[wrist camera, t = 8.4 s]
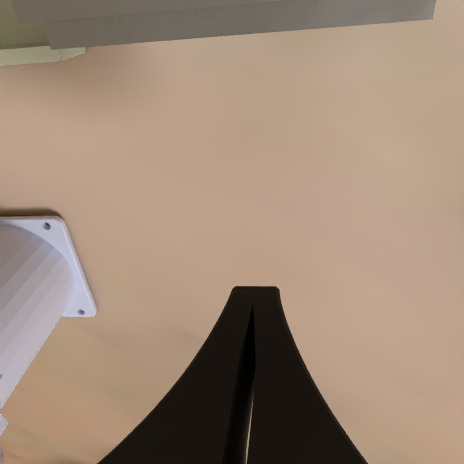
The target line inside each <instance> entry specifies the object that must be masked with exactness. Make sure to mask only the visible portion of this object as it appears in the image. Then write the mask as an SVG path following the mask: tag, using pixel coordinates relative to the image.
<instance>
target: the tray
mask: <svg viewBox="0 0 464 464" xmlns="http://www.w3.org/2000/svg"><path fill="white" fill-rule="evenodd" d="M86 52H87V51H86V47H80V48H67V49H55V50H51V48H50V45H49V41H48V38H47V35H46V32H45V28H44V25H43V22H38V23H27V24H19V21H18V18H17V15H16V12H15V9H14V6H13V3H12V0H0V66H8V65H21V64H34V63H47V62H61V61H64V60H67V59H69V58H72V57H75V56H78V55H80V54H83V53H86Z"/></svg>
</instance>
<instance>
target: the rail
mask: <svg viewBox="0 0 464 464" xmlns="http://www.w3.org/2000/svg"><path fill="white" fill-rule="evenodd" d="M435 2H436V0H12V3H13V6H14V9H15V12H16V15H17V18H18V21H19V24H27V23H38V22H43V25H44V28H45V32H46V35H47V38H48V41H49V45H50V48H51V50H55V49H67V48H80V47H92V46H104V45H117V44H129V43H142V42H154V41H167V40H179V39H192V38H204V37H217V36H229V35H242V34H254V33H267V32H279V31H292V30H304V29H317V28H329V27H342V26H354V25H367V24H379V23H391V22H404V21H416V20H429V19H433V14H434V8H435Z"/></svg>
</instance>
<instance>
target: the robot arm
mask: <svg viewBox="0 0 464 464" xmlns="http://www.w3.org/2000/svg"><path fill="white" fill-rule="evenodd" d="M45 222H46V223H48V224H49V225H50V226H48V225H47V224H46V223H45ZM96 312H97V308H96V305H95V303H94V300H93V297H92V295H91V292H90V289H89V286H88V284H87V281H86V278H85V276H84V273H83V270H82V268H81V265H80V262H79V259H78V257H77V254H76V251H75V249H74V246H73V243H72V241H71V238H70V235H69V233H68V230H67V227H66V224H65V222H64V220H63V219H62V218H60V217H58V216H14V217H0V410H1V408H2V407H3V405H4V404H5V402H6V401H7V399H8V398H9V396H10V394H11V393H12V391H13V390H14V388H15V387H16V385H17V384H18V382H19V381H20V379H21V378H22V376H23V374H24V373H25V371H26V370H27V368H28V367H29V365H30V364H31V362H32V361H33V359H34V358H35V356H36V354H37V353H38V351H39V350H40V348H41V347H42V345H43V344H44V342H45V341H46V339H47V337H48V336H49V334H50V333H51V331H52V330H53V328H54V327H55V325H56V324H57V322H58V321H59V319H60V317H93V316H94V315H95V314H96ZM253 394H254V396H253ZM252 402H253V407H252ZM251 409H252V417H251V428H250V438H249V447H248V457H247V464H368V463H367V462H366V460H365V459H364V458H363V456H362V455H361V454H360V452H359V451H358V450H357V448H356V447H355V445H354V444H353V443H352V441H351V440H350V438H349V437H348V435H347V434H346V432H345V431H344V429H343V428H342V427H341V425H340V424H339V422H338V421H337V419H336V418H335V416H334V415H333V413H332V412H331V410H330V408H329V407H328V405H327V403H326V402H325V400H324V398H323V397H322V395H321V393H320V392H319V390H318V388H317V386H316V385H315V383H314V381H313V379H312V377H311V375H310V373H309V371H308V370H307V368H306V366H305V363H304V361H303V359H302V357H301V355H300V353H299V351H298V349H297V346H296V344H295V342H294V339H293V337H292V334H291V332H290V329H289V327H288V324H287V321H286V318H285V315H284V311H283V308H282V304H281V299H280V291H279V289H278V288H277V287H276V286H235V287H234V288H233V289H232V291H231V294H230V296H229V299H228V301H227V303H226V305H225V307H224V309H223V311H222V313H221V315H220V317H219V319H218V321H217V322H216V324H215V326H214V328H213V329H212V331H211V333H210V334H209V336H208V338H207V339H206V341H205V343H204V344H203V346H202V347H201V349H200V350H199V352H198V353H197V355H196V356H195V358H194V359H193V361H192V362H191V363H190V365H189V366H188V368H187V369H186V370H185V372H184V373H183V374H182V376H181V377H180V378H179V379H178V381H177V382H176V383H175V385H174V386H173V387H172V388H171V389H170V391H169V392H168V393H167V394H166V395H165V396H164V398H163V399H162V400H161V401H160V402H159V403H158V405H157V406H156V407H155V408H154V409H153V410H152V411H151V412H150V413H149V415H148V416H147V417H146V418H145V419H144V420H143V421H142V422H141V423H140V424H139V425H138V426H137V427H136V428H135V429H134V430H133V431H132V432H131V433H130V434H129V435H128V436H127V437H126V438H125V439H124V440H123V441H122V442H121V443H120V444H119V445H118V446H117V447H115V448H114V449H113V450H112V451H111V452H110V453H109V454H108V455H107V456H105V457H104V458H103V459H102V460H101V461H100V462H99V463H97V464H246V449H247V439H248V431H249V423H250V416H251ZM7 424H8V421H7V420H6V419H5V418H4V417H3V416H2V415H1V413H0V436H1V434H2V432H3V431H4V429H5V427H6V426H7ZM0 464H4V454H3V451H2V449H1V447H0Z"/></svg>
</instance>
